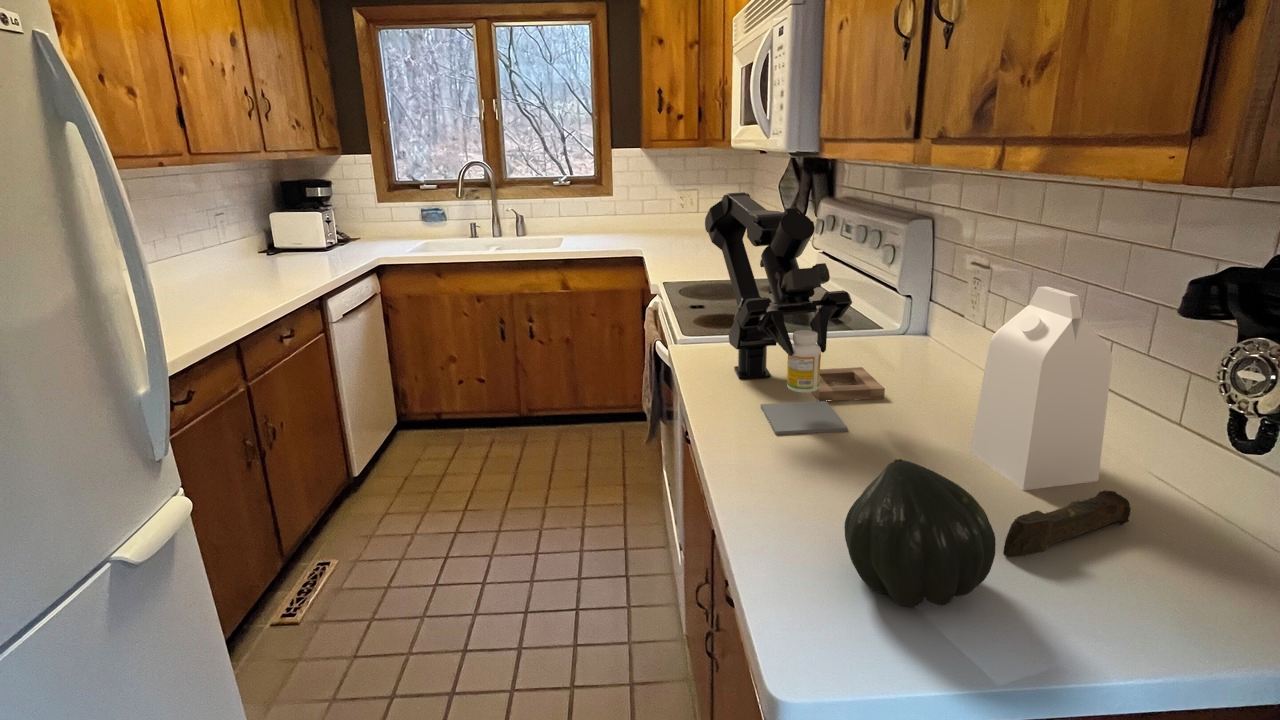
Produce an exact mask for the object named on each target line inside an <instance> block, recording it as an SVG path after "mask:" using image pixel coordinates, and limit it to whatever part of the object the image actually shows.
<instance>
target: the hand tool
mask: <svg viewBox="0 0 1280 720" xmlns="http://www.w3.org/2000/svg"><path fill="white" fill-rule="evenodd" d="M1131 510H1132V507H1131V504H1130V501H1129V499H1128V498H1126V497H1124V496H1123V495H1121V494H1119V493H1118V492H1117V491H1115V490H1101V491H1099V492H1098V493H1097V494H1096V496H1094V497H1090V498H1087V499H1083V500H1076V501H1071V502H1070V503H1069V504H1068V505H1067V506H1064V507H1059V508H1057V509H1055V510H1052V511H1049V512H1045V513H1044V512H1042V511H1040V510H1034V511H1030V512H1028V513H1026V514H1021V515H1019V516H1017V517H1016V518H1015V519H1014V520H1013V521H1012V523H1011V525H1010V527H1009V529H1008V532H1007V534H1006V536H1005V541H1004V546H1003V553H1002V554H1003V556H1006V557H1008V556H1009V557H1018V556H1026V555H1032V554H1034V553H1041V552H1042V553H1043V552H1046V550H1047V549H1048V547H1049V545H1052V544H1054V543H1057V542H1059V541H1063V540H1067V539H1070V538H1071V539H1072V538H1074V537H1075V538H1076V537H1077V536H1078V535H1081V534H1084V533H1087V532H1090V531H1093V530H1096V529H1100V528H1102V527H1105V526H1107V525H1110V524H1113V523H1115V524H1118V525H1120V526H1123V525H1125V524H1126V523H1128V522H1130V520H1129V518H1130V516H1131Z"/></svg>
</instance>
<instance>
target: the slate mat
mask: <svg viewBox="0 0 1280 720" xmlns="http://www.w3.org/2000/svg"><path fill="white" fill-rule="evenodd" d="M760 409H761V412H764V413H763V414H765V415H764V417H765V418H766V420H767V422H768V421H769V422H768V424H769V423H770V424H769V425H771V426H770V427H771V429H772V431H773V433H774V434H775V435H776V434H781V435H794V434H793V433H800V434H815V433H816V432H819V433H833V432H834V433H835V432H836V433H837V432H838V433H839V432H848V431H849V430H848V429H849V428H848V425H847V424H845V422H844V421H843V420H842V419H841V417H840V416H839V415H838V413H837V412H836V411H835V410H834V409H833V407H832V406H831V405H830V403H829V402H827V401H818V400H817V401H816V400H815V401H798V402H797V401H793V402H778V403H777V402H776V403H773V402H772V403H760ZM814 432H815V433H814ZM816 434H817V433H816ZM776 436H777V435H776Z"/></svg>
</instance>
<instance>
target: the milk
mask: <svg viewBox="0 0 1280 720" xmlns="http://www.w3.org/2000/svg"><path fill="white" fill-rule="evenodd" d="M1082 317H1083V316H1082V308H1081V303H1080V295H1078V294H1075V293H1072V292H1068V291H1065V290H1062V289H1057V288H1055V287H1050V286H1044V285H1043V286H1037V288H1036V290H1035V292H1034V294H1033V296H1032V298H1031V300H1030V302H1029V305H1027V306H1025V307H1024V308H1023V309H1022V310H1020V311H1019V312H1018V313H1016V314H1015V316H1013V317H1012V318H1011V319H1010V320H1007V322H1006V323H1005V324H1003V325H1002V326H1001V327H1000V328H998V330H996V332H994V334H993V335H992V337H991V339H990V342H989V344H988V350H987V356H986V361H985V366H984V371H983V375H982V382H981V388H980V393H979V398H978V404H977V409H976V415H975V420H974V423H973V430H972V436H971V441H970V446H969V454H971V455H972V456H974V457H975V458H976V459H978V460H980V462H982V463H983V464H985V465H986V466H988V467H989V468H991V469H992V471H993V470H994V471H995V472H996V473H998V474H999V475H1000V476H1002V477H1004V479H1006V480H1008V481H1009V482H1010V483H1012V484H1013V485H1014V486H1016V487H1017V488H1019V489H1020V490H1022V491H1030V490H1037V489H1043V488H1044V489H1045V488H1052V487H1054V488H1055V487H1060V486H1068V485H1076V484H1077V485H1078V484H1082V483H1083V484H1085V483H1093V482H1098V481H1099V477H1100V476H1099V475H1100V467H1101V458H1102V450H1103V442H1104V435H1105V433H1104V432H1105V426H1106V416H1107V408H1108V400H1109V399H1108V398H1109V390H1110V384H1111V383H1110V382H1111V375H1112V374H1111V373H1112V365H1113V354H1112V350H1111V348H1110V346H1109V345H1108V344H1107V343H1106V342H1105V340H1104V339H1102V337H1100V335H1098V333H1097V332H1096V331H1095V330H1094V329H1093V328H1092V327H1091V326H1090V325H1089V324H1088V323H1087V322H1086V321H1085V319H1083V318H1082Z"/></svg>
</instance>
